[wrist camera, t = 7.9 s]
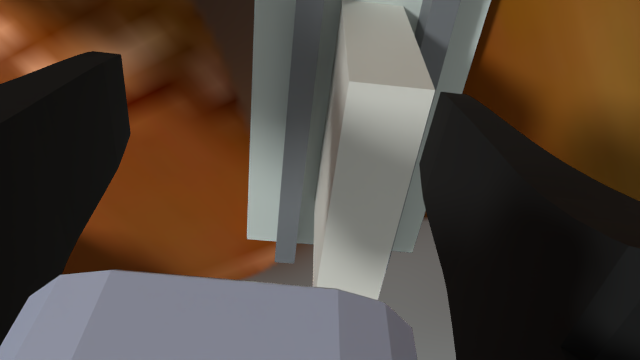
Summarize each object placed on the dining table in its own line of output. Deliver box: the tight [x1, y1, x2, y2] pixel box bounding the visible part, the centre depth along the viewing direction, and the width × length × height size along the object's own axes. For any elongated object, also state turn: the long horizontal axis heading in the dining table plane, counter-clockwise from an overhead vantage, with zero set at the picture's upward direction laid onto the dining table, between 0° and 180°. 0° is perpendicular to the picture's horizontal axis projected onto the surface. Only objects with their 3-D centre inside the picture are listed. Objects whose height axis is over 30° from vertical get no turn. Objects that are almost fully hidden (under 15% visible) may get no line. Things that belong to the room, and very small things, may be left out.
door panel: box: [313, 0, 435, 300], centre depth 20 cm, size 2×10×7 cm, turn 174°
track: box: [247, 0, 491, 270], centre depth 22 cm, size 9×16×2 cm, turn 174°
